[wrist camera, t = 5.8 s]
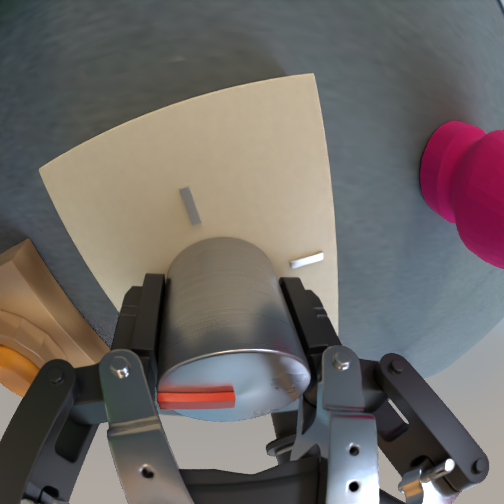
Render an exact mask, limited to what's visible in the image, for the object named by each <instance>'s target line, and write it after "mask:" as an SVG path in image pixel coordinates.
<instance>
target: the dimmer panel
mask: <svg viewBox="0 0 504 504" xmlns="http://www.w3.org/2000/svg"><path fill="white" fill-rule="evenodd" d="M39 173H40V175H41V178H42V180H43V182H44V185H45V187H46V189H47V191H48V193H49V195H50V198H51V200H52V202H53V204H54V206H55V208H56V210H57V212H58V214H59V216H60V218H61V220H62V222H63V224H64V226H65V227H66V229H67V231H68V233H69V235H70V237H71V238H72V240H73V242H74V244H75V245H76V247H77V249H78V251H79V252H80V254H81V256H82V257H83V259H84V261H85V262H86V264H87V266H88V267H89V269H90V270H91V272H92V273H93V275H94V277H95V278H96V280H97V281H98V283H99V284H100V286H101V287H102V289H103V290H104V292H105V293H106V295H107V296H108V297H109V299H110V300H111V302H112V303H113V305H114V306H115V307H116V309H117V310H118V312H119V313H120V310H121V307H122V302H123V299H124V295H125V294H126V292H127V291H128V290H129V289H130V288H131V287H132V286H143V281H144V277H145V274H146V273H156V274H165V283H166V279H167V273H168V270H169V267H170V265H171V263H172V262H173V260H174V259H175V258H176V257H177V256H178V255H179V254H180V253H181V252H182V251H183V250H184V249H186V248H187V247H189V246H191V245H192V244H194V243H197V242H199V241H202V240H205V239H210V238H216V237H229V238H236V239H240V240H243V241H246V242H249V243H251V244H253V245H255V246H256V247H258V248H259V249H260V250H261V251H263V252H264V253H265V254H266V256H267V257H268V258H269V260H270V261H271V263H272V266H273V268H274V271H275V274H276V276H277V279H278V281H279V279H280V277H299V278H300V279H301V282H302V284H303V286H304V288H305V290H312V291H313V292H314V293H315V294H316V295H317V296H318V297H319V298H320V300H321V302H322V304H323V306H324V309H325V310H326V313H327V315H328V317H329V319H330V321H331V323H332V325H333V327H334V329H335V332H336V334H337V336H338V269H337V247H336V231H335V217H334V205H333V195H332V185H331V176H330V167H329V159H328V152H327V145H326V138H325V131H324V125H323V119H322V113H321V107H320V101H319V96H318V91H317V86H316V81H315V76H314V74H313V73H309V74H300V75H293V76H286V77H279V78H273V79H268V80H262V81H257V82H252V83H248V84H243V85H239V86H234V87H230V88H226V89H222V90H218V91H215V92H211V93H207V94H204V95H200V96H197V97H194V98H191V99H187V100H184V101H181V102H178V103H175V104H172V105H169V106H166V107H164V108H161V109H158V110H155V111H153V112H150V113H148V114H145V115H143V116H140V117H138V118H135V119H133V120H130V121H128V122H126V123H123V124H121V125H119V126H117V127H114V128H112V129H110V130H108V131H106V132H104V133H102V134H100V135H98V136H96V137H94V138H92V139H90V140H88V141H86V142H84V143H82V144H80V145H78V146H76V147H74V148H73V149H71V150H69V151H67V152H66V153H64V154H62V155H60V156H59V157H57V158H55V159H54V160H52V161H50V162H49V163H47V164H46V165H44V166H42V167H41V168H40V169H39Z"/></svg>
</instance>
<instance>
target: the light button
mask: <svg viewBox="0 0 504 504" xmlns="http://www.w3.org/2000/svg"><path fill="white" fill-rule="evenodd" d="M39 371H40V368H39V367H38V366H37V365H36V364H35V363H33V362H32V361H31V360H30V359H29V358H27V357H25V356H24V355H22V354H21V353H19V352H18V351H16V350H15V349H12V348H9V347H7V346H4V345H2V344H0V383H1V384H3V386H5V387H6V388H8V389H9V390H11V391H12V392H14V393H16V394H18V395H19V396H22V397H24V395H25V394H26V392H27V390H28V389H29V387H30V385H31V384H32V382H33V380H34V379H35V377H36V375H37V374H38V372H39Z"/></svg>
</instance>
